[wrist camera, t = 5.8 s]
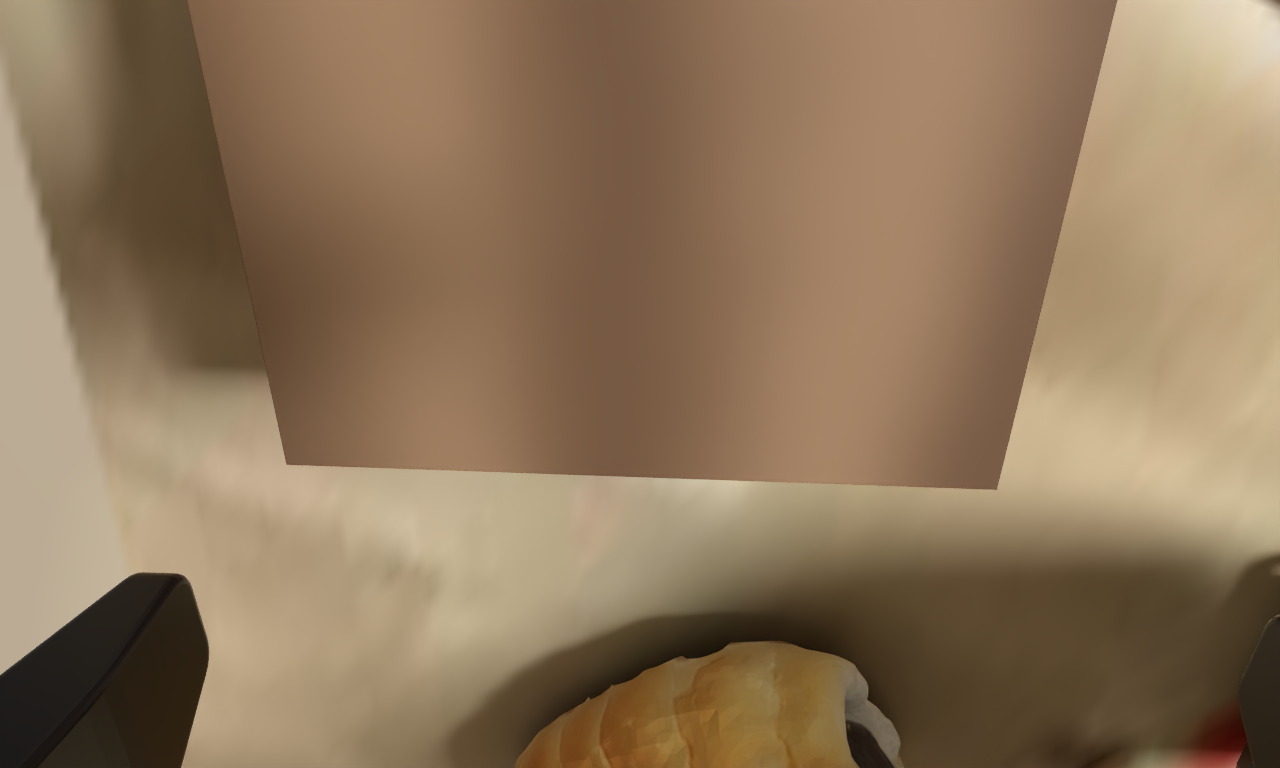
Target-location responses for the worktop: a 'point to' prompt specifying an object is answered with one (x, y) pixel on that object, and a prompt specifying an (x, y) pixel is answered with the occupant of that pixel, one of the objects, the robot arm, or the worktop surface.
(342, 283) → the walnut base
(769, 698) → the pastry
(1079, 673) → the worktop surface
